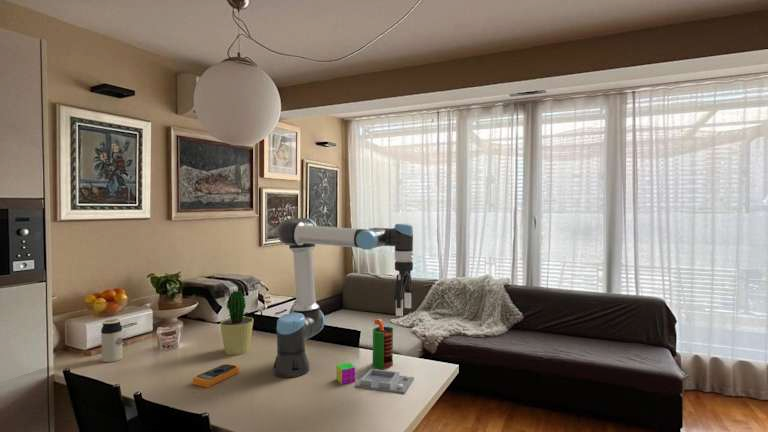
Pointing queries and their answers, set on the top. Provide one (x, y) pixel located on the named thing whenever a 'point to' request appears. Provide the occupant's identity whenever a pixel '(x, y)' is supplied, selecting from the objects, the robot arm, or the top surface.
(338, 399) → the top surface
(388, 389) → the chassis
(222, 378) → the multimeter
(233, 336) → the potted cactus
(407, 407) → the top surface
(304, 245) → the robot arm
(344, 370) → the puzzle toy
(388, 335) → the motor
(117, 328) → the travel mug
